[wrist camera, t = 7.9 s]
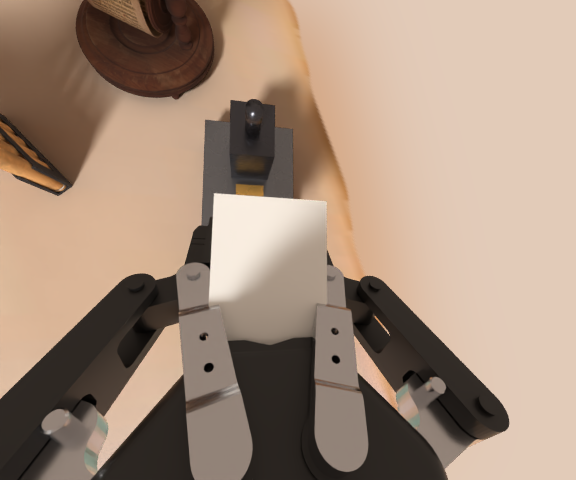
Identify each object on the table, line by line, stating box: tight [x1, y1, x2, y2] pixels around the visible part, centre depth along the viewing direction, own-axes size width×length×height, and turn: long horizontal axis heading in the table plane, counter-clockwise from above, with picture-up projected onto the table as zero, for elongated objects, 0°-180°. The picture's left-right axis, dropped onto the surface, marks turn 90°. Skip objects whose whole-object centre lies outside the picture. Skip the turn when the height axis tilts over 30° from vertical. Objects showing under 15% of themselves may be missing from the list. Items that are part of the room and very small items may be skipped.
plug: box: [209, 193, 327, 345], centre depth 13 cm, size 4×5×10 cm
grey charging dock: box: [202, 99, 293, 226], centre depth 25 cm, size 10×18×13 cm, turn 0°
